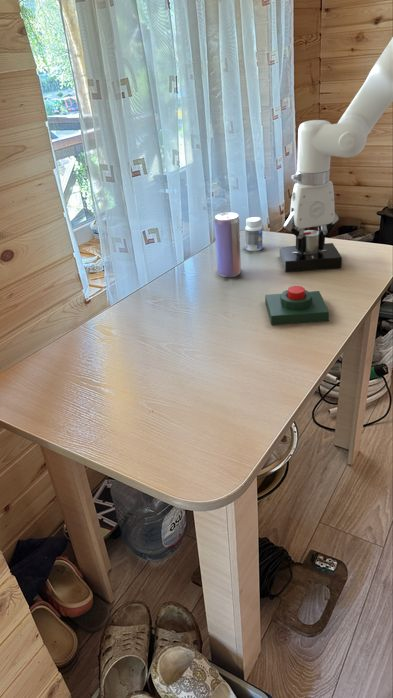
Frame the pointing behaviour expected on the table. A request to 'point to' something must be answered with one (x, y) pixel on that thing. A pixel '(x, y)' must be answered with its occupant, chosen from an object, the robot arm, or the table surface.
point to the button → (296, 293)
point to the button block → (296, 308)
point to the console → (310, 259)
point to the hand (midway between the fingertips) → (309, 249)
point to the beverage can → (228, 244)
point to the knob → (311, 242)
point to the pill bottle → (253, 234)
